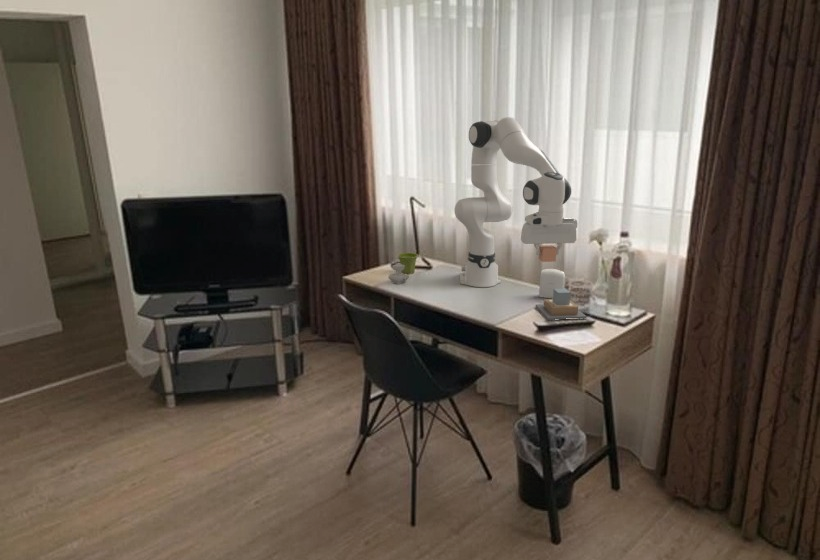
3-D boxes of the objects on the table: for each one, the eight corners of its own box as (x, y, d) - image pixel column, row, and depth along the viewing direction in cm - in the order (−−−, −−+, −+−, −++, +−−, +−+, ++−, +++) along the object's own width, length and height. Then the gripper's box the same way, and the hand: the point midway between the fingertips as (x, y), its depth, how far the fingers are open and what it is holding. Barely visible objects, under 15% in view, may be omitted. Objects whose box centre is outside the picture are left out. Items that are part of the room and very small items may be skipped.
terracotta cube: (538, 258, 224) (539, 245, 223) (551, 258, 225) (552, 245, 223) (542, 261, 220) (543, 248, 218) (555, 261, 220) (556, 248, 219)
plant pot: (407, 276, 280) (407, 258, 278) (393, 272, 287) (393, 254, 284) (421, 272, 286) (421, 255, 284) (408, 268, 293) (408, 251, 290)
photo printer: (537, 297, 252) (539, 269, 249) (539, 294, 256) (542, 266, 252) (562, 300, 248) (564, 272, 245) (564, 297, 252) (566, 269, 248)
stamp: (410, 283, 270) (411, 265, 268) (401, 286, 266) (401, 268, 263) (396, 279, 276) (396, 261, 274) (386, 282, 271) (386, 264, 269)
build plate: (535, 307, 240) (536, 297, 239) (571, 306, 242) (572, 296, 240) (548, 320, 226) (548, 309, 225) (586, 319, 227) (587, 308, 226)
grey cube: (552, 300, 235) (553, 288, 233) (564, 300, 235) (565, 288, 234) (557, 305, 230) (558, 292, 228) (569, 304, 230) (570, 292, 229)
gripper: (574, 216, 222) (571, 252, 226) (520, 216, 220) (518, 253, 224) (581, 219, 216) (577, 256, 220) (525, 220, 214) (523, 257, 218)
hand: (547, 254), depth 222 cm, fingers closed on terracotta cube, 5 cm apart
